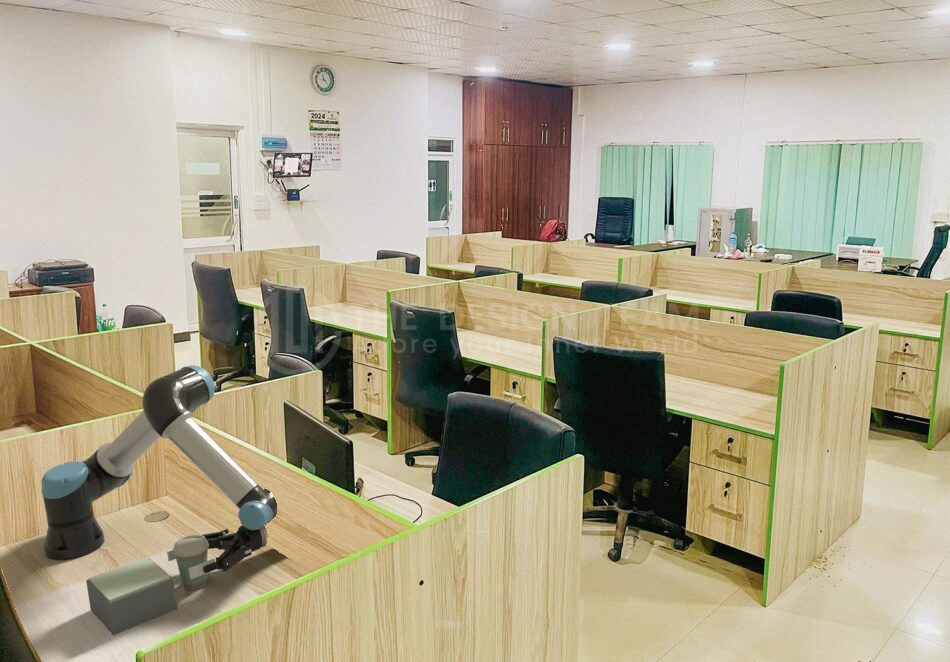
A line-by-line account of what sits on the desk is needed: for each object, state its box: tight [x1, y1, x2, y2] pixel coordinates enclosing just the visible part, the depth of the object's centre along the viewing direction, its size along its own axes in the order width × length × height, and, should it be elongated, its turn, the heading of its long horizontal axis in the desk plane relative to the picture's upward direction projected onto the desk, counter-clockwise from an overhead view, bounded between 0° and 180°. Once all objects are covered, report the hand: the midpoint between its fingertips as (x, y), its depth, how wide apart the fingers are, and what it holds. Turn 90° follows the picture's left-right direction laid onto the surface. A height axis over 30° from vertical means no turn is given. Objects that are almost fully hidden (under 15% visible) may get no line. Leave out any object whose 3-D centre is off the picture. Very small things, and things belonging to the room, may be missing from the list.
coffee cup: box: [172, 534, 209, 591], centre depth 197 cm, size 8×8×12 cm
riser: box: [85, 556, 178, 636], centre depth 187 cm, size 15×15×9 cm
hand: (178, 564), depth 194 cm, fingers open, 12 cm apart
